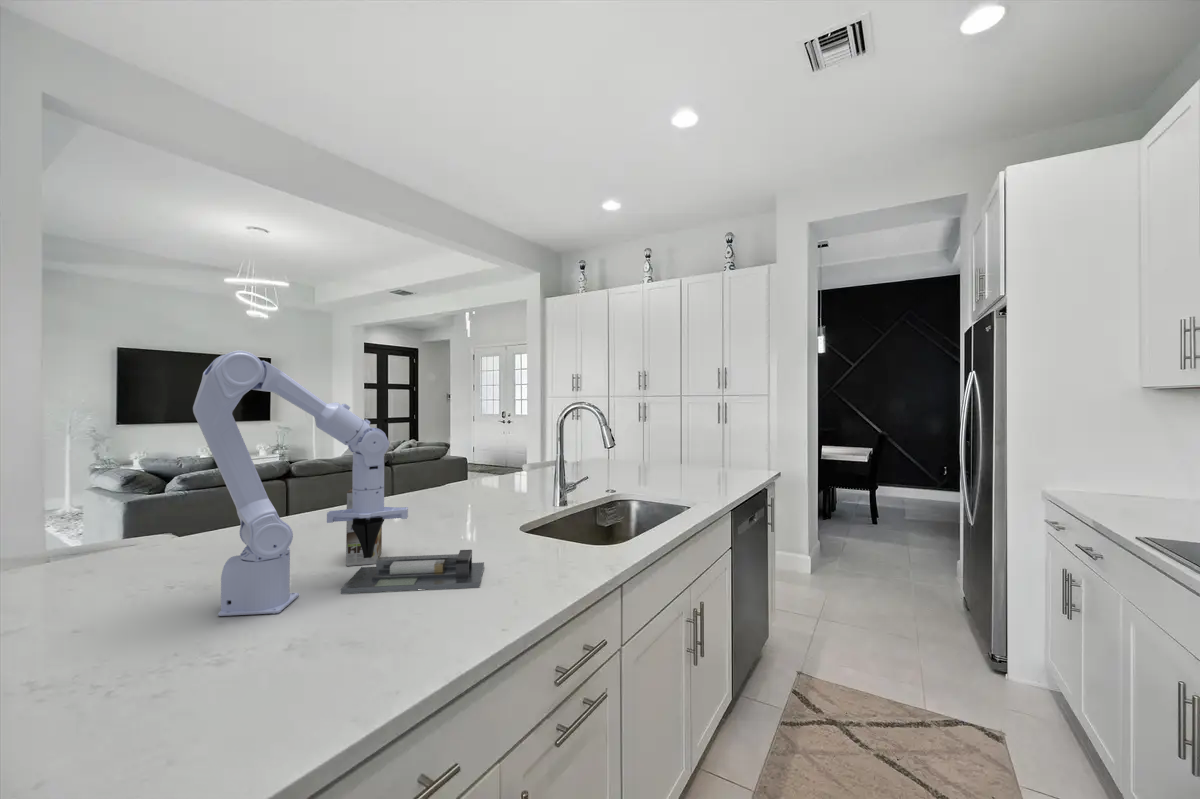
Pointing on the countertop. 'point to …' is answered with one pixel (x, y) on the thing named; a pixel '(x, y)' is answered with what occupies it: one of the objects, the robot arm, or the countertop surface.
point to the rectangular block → (417, 567)
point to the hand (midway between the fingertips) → (368, 556)
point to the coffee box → (353, 545)
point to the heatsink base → (455, 575)
